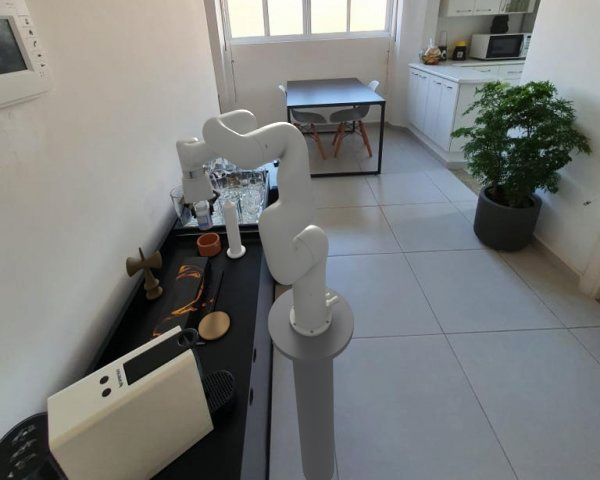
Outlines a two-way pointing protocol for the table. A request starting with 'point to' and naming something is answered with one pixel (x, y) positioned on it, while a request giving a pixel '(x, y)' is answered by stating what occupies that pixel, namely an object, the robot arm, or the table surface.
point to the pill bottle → (203, 216)
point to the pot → (209, 244)
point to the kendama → (146, 272)
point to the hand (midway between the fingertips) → (203, 214)
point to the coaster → (214, 325)
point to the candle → (232, 230)
